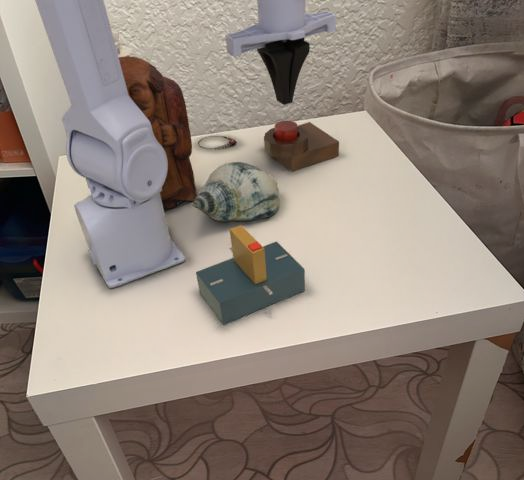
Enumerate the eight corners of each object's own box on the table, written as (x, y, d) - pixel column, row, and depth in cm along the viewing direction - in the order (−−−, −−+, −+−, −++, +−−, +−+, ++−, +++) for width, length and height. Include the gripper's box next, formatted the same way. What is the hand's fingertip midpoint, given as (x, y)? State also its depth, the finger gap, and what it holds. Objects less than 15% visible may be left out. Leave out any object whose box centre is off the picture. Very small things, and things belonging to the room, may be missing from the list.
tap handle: (233, 260, 59) (229, 227, 56) (244, 255, 60) (241, 222, 57) (255, 285, 56) (252, 251, 53) (267, 280, 57) (264, 246, 54)
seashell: (287, 223, 72) (197, 240, 70) (273, 176, 74) (185, 192, 72) (293, 194, 66) (194, 211, 64) (277, 144, 68) (182, 160, 66)
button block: (279, 176, 77) (278, 149, 74) (252, 153, 82) (250, 127, 79) (338, 156, 80) (340, 129, 77) (309, 135, 85) (309, 109, 82)
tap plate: (229, 334, 56) (226, 311, 54) (193, 285, 62) (189, 262, 59) (312, 298, 59) (312, 275, 56) (271, 255, 65) (269, 233, 62)
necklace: (232, 153, 83) (232, 147, 82) (194, 148, 84) (193, 142, 84) (240, 140, 86) (240, 134, 85) (203, 135, 87) (202, 129, 86)
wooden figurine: (117, 222, 71) (73, 78, 58) (111, 198, 76) (69, 59, 63) (204, 202, 73) (181, 59, 60) (193, 180, 78) (170, 41, 65)
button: (282, 145, 76) (281, 132, 74) (270, 136, 78) (270, 124, 76) (301, 138, 77) (301, 126, 75) (290, 130, 79) (289, 118, 77)
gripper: (241, 2, 59) (250, 126, 69) (352, -23, 63) (346, 97, 73) (213, -12, 63) (226, 107, 73) (319, -34, 67) (317, 81, 77)
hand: (284, 101), depth 73 cm, fingers closed
